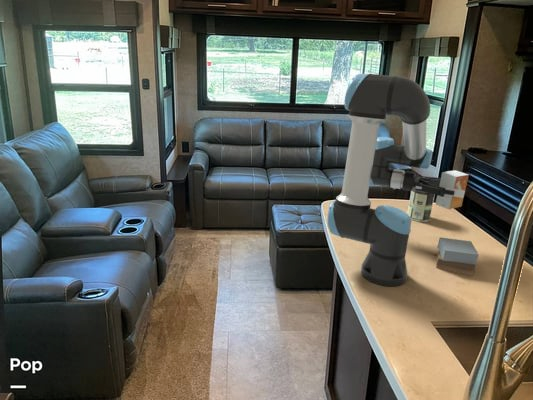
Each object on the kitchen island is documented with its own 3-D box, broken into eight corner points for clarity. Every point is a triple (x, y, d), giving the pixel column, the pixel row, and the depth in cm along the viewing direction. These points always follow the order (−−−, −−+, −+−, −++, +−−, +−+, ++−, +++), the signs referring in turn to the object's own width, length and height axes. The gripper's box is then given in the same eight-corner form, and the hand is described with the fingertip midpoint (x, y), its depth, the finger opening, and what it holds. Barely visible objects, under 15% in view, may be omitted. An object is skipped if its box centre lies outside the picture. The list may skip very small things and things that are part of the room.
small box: (449, 210, 158) (456, 176, 153) (434, 204, 162) (441, 172, 158) (462, 206, 162) (469, 174, 157) (447, 201, 167) (454, 169, 162)
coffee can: (425, 214, 199) (430, 185, 195) (432, 222, 190) (438, 193, 185) (403, 212, 199) (408, 184, 195) (410, 221, 190) (415, 191, 185)
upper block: (476, 265, 146) (478, 254, 145) (442, 260, 148) (445, 250, 147) (468, 251, 156) (471, 241, 155) (437, 246, 158) (439, 237, 157)
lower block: (472, 277, 146) (475, 267, 145) (435, 268, 150) (438, 259, 149) (471, 262, 156) (473, 252, 155) (437, 255, 161) (439, 245, 159)
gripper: (405, 182, 177) (462, 191, 169) (397, 197, 158) (461, 208, 150) (408, 164, 175) (467, 173, 166) (400, 178, 156) (466, 188, 147)
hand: (464, 190), depth 158 cm, fingers closed on small box, 10 cm apart
